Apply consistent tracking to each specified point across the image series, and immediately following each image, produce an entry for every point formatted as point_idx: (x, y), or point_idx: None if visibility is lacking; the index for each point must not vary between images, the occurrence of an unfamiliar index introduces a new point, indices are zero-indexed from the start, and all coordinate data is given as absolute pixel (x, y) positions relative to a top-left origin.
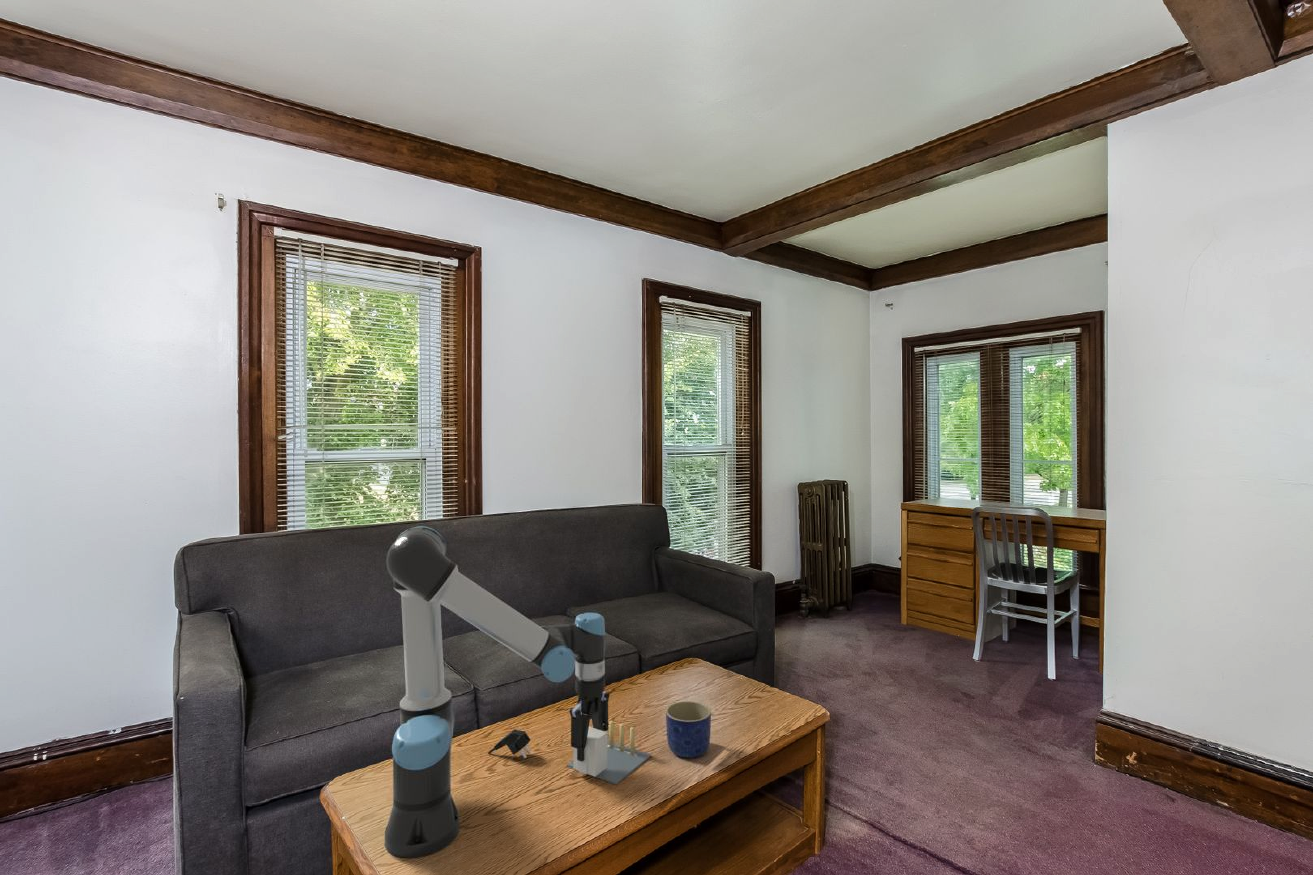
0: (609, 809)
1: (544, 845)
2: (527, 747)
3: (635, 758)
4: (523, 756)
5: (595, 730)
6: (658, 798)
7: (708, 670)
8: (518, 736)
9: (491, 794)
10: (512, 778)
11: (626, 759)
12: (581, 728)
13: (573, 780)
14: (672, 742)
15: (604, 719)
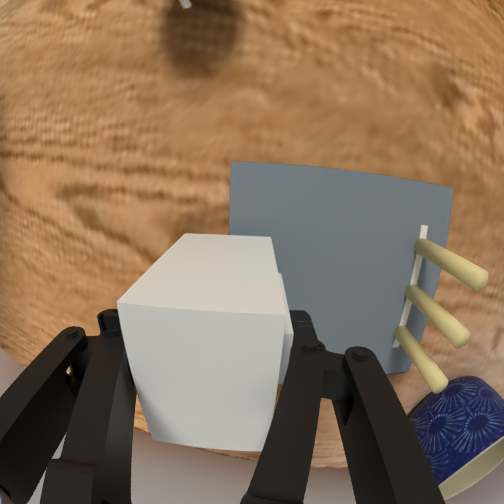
0: (136, 396)
1: (7, 330)
2: None
3: (378, 352)
4: (180, 2)
5: (250, 405)
6: (235, 450)
7: None
8: None
9: (21, 98)
10: (85, 68)
11: (365, 335)
12: (55, 449)
13: (168, 248)
14: (422, 430)
15: (346, 445)
